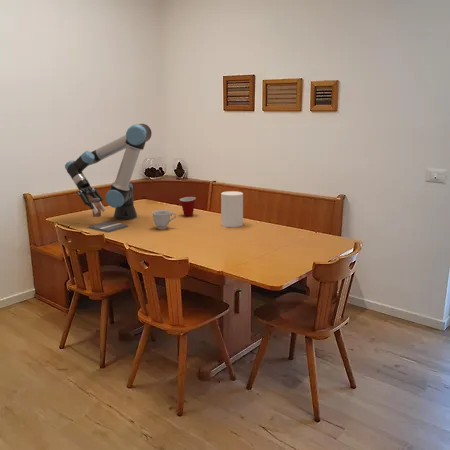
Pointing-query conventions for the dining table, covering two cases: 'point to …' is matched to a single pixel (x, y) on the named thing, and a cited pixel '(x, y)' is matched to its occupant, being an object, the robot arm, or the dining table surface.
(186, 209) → the plastic cup
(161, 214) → the teacup
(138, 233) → the dining table surface
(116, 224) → the board
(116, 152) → the robot arm
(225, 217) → the canister
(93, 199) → the spice shaker
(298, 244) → the dining table surface
